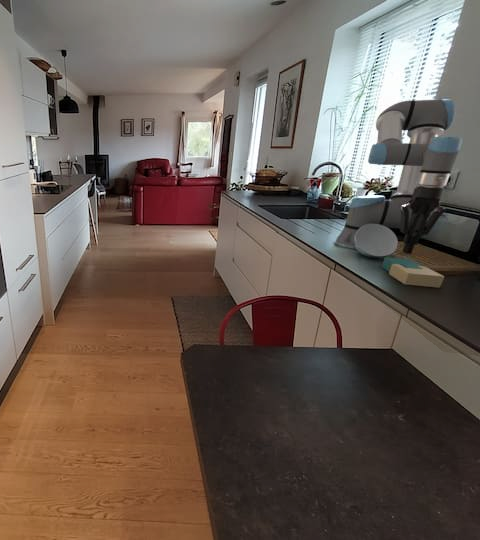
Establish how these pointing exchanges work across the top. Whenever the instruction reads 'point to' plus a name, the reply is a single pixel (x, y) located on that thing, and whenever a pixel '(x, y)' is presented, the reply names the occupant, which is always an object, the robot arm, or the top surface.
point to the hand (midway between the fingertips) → (406, 252)
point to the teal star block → (404, 262)
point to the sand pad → (416, 276)
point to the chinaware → (375, 240)
